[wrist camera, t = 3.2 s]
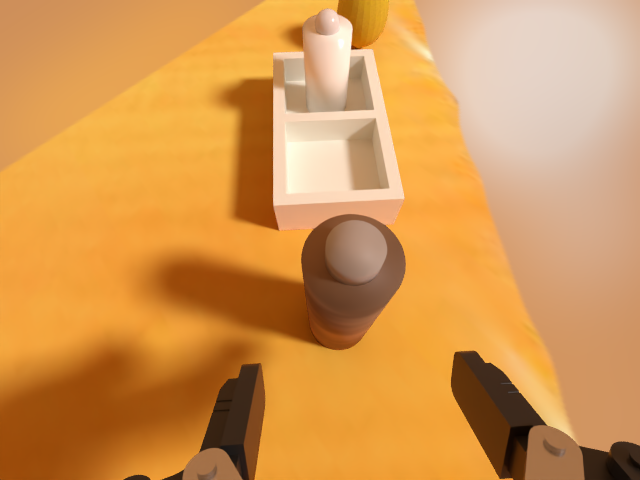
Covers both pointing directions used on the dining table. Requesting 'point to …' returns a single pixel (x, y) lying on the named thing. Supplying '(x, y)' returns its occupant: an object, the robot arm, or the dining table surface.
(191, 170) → the dining table surface
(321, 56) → the salt shaker
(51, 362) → the dining table surface
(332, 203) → the caddy
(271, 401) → the dining table surface
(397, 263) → the pepper mill
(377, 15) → the lemon
